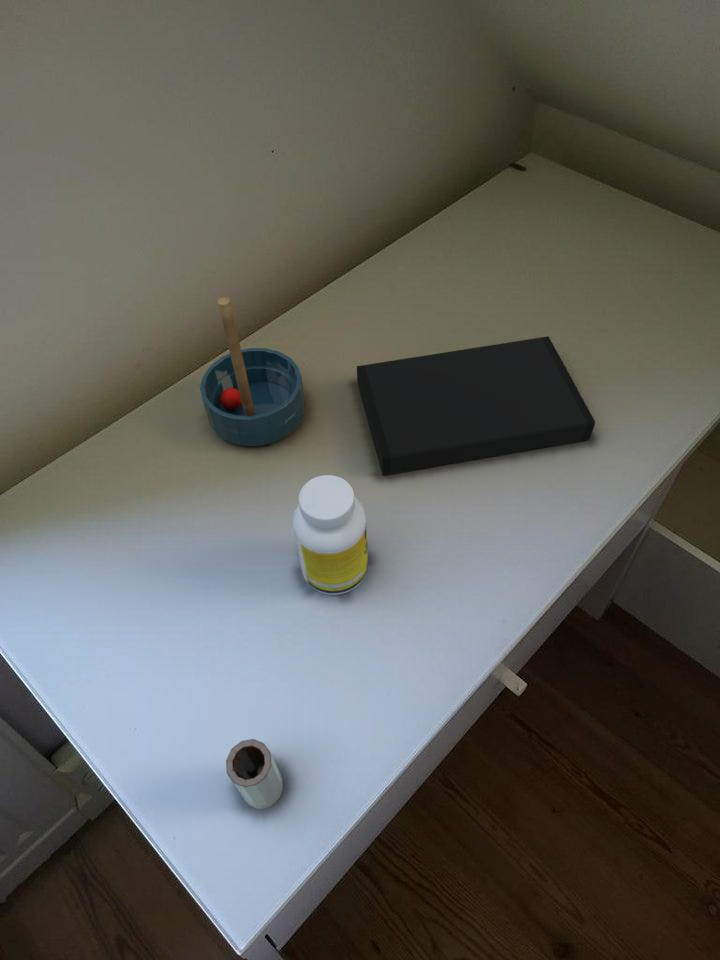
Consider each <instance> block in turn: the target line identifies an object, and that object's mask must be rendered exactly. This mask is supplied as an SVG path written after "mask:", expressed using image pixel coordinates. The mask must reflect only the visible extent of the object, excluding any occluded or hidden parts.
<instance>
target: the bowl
mask: <svg viewBox="0 0 720 960" xmlns="http://www.w3.org/2000/svg"><path fill="white" fill-rule="evenodd" d="M241 351H242V356H243V360H244V365H245V369H246V374H247V379H248V383H249V388H250V392H251V397H252V401H253V406H254V410H255V415H253V416H245V414H244V410H243V406H242V402H241V404H240V406H239V407H238V408H236V409H227V408H225V407H224V406H223V405H222V403H221V394H222V393H223V391H224V390H226V389H229V388H233V389H236V390H238V391H239V389H238V385H237V381H236V377H235V373H234V368H233V364H232V360H231V356H230V353H227V354H225V355H223V356H221V357H219V358H218V359H217V360H215V361H214V362H213V363H212V364H211V365H209V367H208V368H207V370H206V371H205V372H204V373H203V375H202V377H201V381H200V385H199V389H200V390H199V391H200V395H201V399H202V402H203V403H202V404H203V407H204V409H205V412H206V415H207V419H208V423H209V426H210V427H211V429H212V430H213V431H214V432H215V434H216V435H217V436H218V437H220V438H221V439H223V440H225V441H226V442H227V443H231V444H234V445H238V446H243V447H260V446H265V445H269V444H274V443H275V442H277V441H279V440H282V439H283V438H285V437H287V436H289V435H290V434H291V433H292V432H293V431H294V430H295V429H296V428H298V426H299V424H300V423H301V422H302V419H303V417H304V416H305V409H306V400H305V392H304V385H303V377H302V373H301V370H300V368H299V366H298V364H297V363H295V361H294V360H293V359H292V357H290V356H288V355H286V354H284V353H283V352H281V351H279V350H275V349H271V348H266V347H248V348H244V349H241Z"/></svg>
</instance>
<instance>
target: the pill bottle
mask: <svg viewBox="0 0 720 960" xmlns="http://www.w3.org/2000/svg"><path fill="white" fill-rule="evenodd" d="M292 530H293V535H294V539H295V544H296V549H297V553H298V558H299V565H300V568H301V573H302V576H303V578H304V580H305V581H306V583H307V585H309V586H310V587H311V588H312V589H314V591H316V592H319V593H321V594H325V595H335V596H336V595H342V594H347V593H348V592H351V591H353V590H354V589H355V588H357V587H358V586H359V585H360V584H361V583H362V582H363V581H364V579H365V577H366V575H367V572H368V568H369V554H368V552H369V550H368V533H367V531H368V530H367V515H366V511H365V509H364V507H363V504H362V503H361V502H360V501H359V500H358V498H356V497H355V493H354V490H353V488H352V485H351V484H350V483H349V482H348V481H347V480H345V479H344V478H342V477H339V476H336V475H334V474H333V475H331V474H323V475H318V476H316V477H313V478H311V479H309V480H308V481H307V482H306V483H304V484H303V486H302V487H301V489H300V491H299V495H298V504H297V506H296V508H295V510H294V513H293V516H292Z"/></svg>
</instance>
